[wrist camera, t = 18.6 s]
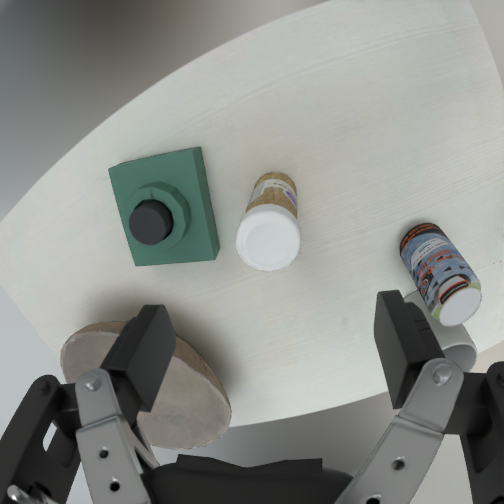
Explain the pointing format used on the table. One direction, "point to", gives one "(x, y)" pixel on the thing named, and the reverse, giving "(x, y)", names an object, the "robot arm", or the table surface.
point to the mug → (449, 337)
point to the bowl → (161, 389)
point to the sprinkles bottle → (270, 225)
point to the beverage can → (441, 274)
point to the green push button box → (169, 205)
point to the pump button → (150, 222)
